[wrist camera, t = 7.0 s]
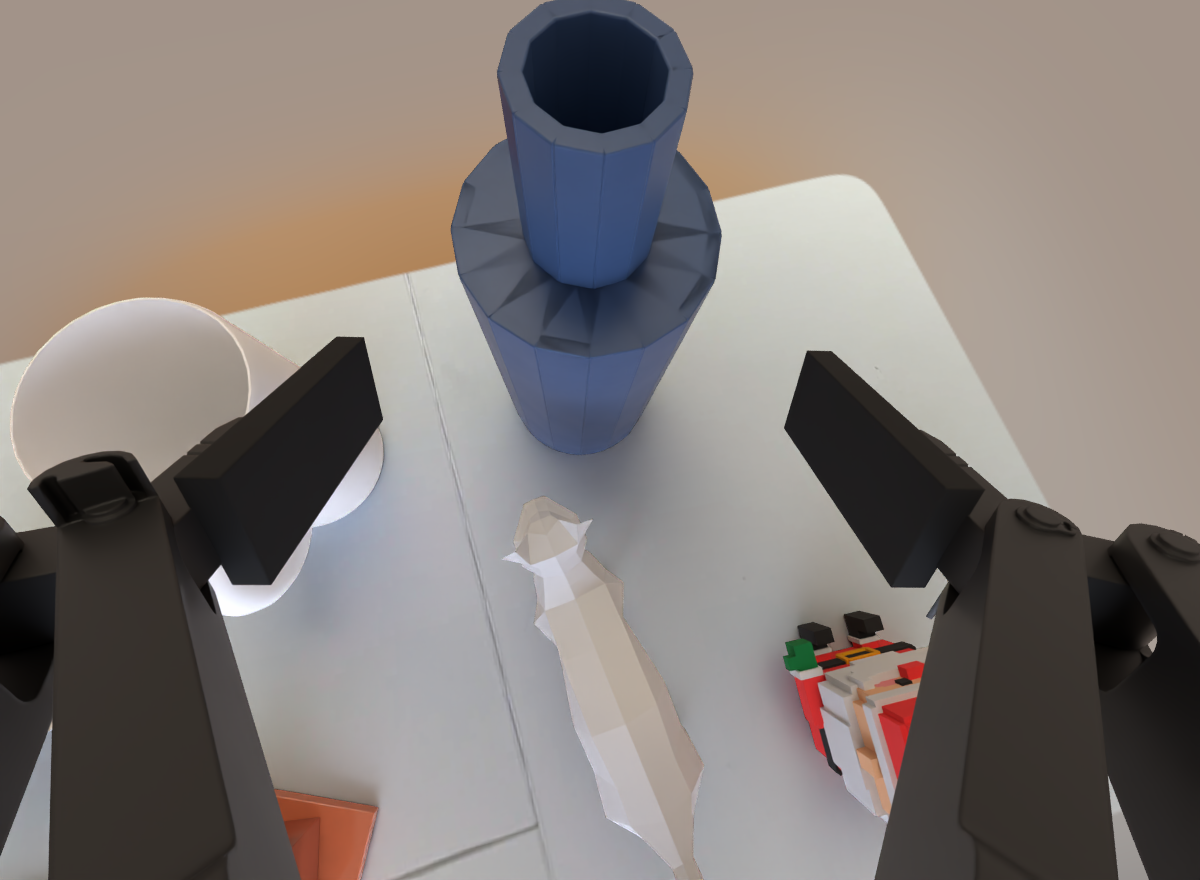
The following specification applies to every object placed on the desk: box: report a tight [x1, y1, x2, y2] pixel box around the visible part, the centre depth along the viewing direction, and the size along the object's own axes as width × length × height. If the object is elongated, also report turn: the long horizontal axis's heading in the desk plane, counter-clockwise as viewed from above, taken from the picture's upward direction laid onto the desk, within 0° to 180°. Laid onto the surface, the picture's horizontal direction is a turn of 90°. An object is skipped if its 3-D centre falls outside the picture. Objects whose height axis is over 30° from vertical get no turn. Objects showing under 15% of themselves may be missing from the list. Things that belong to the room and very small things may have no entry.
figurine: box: [783, 611, 929, 824], centre depth 21 cm, size 8×7×12 cm
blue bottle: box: [451, 0, 722, 455], centre depth 20 cm, size 8×8×21 cm
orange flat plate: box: [274, 789, 378, 880], centre depth 24 cm, size 8×6×1 cm
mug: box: [10, 298, 384, 616], centre depth 22 cm, size 8×12×12 cm
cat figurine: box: [502, 496, 704, 880], centre depth 20 cm, size 4×20×14 cm, turn 24°
